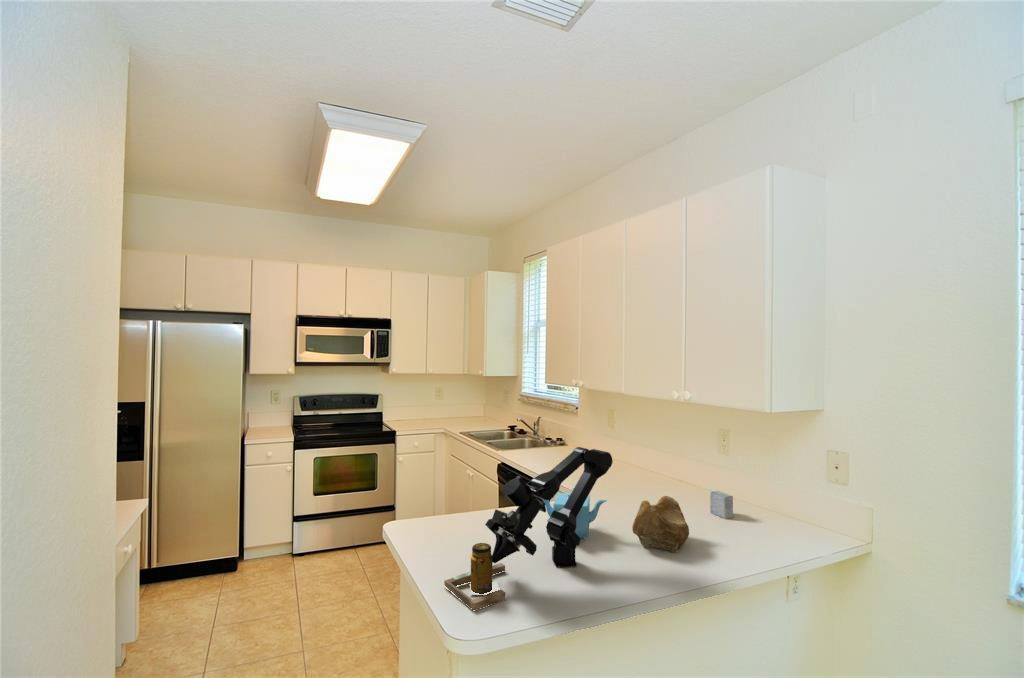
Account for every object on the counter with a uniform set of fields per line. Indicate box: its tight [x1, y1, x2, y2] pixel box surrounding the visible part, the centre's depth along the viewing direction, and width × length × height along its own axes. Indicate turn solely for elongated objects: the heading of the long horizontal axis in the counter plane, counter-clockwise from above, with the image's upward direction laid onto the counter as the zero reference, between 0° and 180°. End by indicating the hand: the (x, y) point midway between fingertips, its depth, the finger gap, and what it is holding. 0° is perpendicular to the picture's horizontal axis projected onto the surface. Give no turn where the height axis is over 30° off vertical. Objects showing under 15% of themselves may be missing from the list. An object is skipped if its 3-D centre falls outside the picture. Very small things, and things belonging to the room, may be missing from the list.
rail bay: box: [444, 562, 506, 611], centre depth 141 cm, size 19×16×2 cm
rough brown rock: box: [631, 495, 690, 554], centre depth 171 cm, size 23×17×15 cm
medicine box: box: [709, 490, 734, 520], centre depth 202 cm, size 8×4×9 cm, turn 22°
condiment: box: [470, 542, 493, 594], centre depth 140 cm, size 7×8×12 cm
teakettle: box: [540, 487, 608, 541], centre depth 182 cm, size 19×19×15 cm
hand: (492, 562), depth 142 cm, fingers closed
